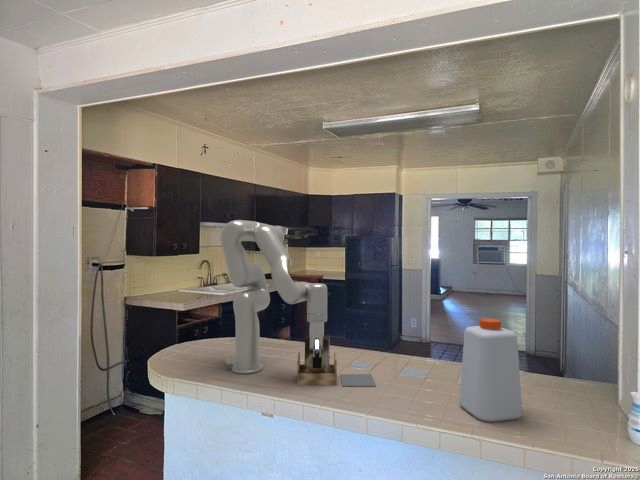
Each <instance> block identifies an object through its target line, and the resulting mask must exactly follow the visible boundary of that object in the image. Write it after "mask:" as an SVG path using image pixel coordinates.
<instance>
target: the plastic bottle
mask: <svg viewBox="0 0 640 480" xmlns="http://www.w3.org/2000/svg"><path fill="white" fill-rule="evenodd" d="M463 337H464V338H463V347H462V348H463V350H462V362H461V375H460V386H459V387H460V388H459V398H458V399H459V400H458V403H459V405H460V407H462V409H464V410H466V411H467V412H468V413H470V414H471V415H472V416H473V417H475V418H477V420H480V421H484V422H490V423H495V422H502V421H513V420H517V419H520V418H521V417H522V415H523V405H522V404H523V401H522V391H521V389H522V388H521V375H520V359H519V349H518V346H519V345H518V335H517V333H515V331H512V330H510V329H508V328H503V327H502V321H501V320H500V319H496V318H491V317H490V318H489V317H488V318H487V317H484V318H480V319H479V325H474V326H473V325H471V326H468V327H466V328H465V329H464V336H463Z"/></svg>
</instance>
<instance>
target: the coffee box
mask: <svg viewBox="0 0 640 480" xmlns="http://www.w3.org/2000/svg"><path fill="white" fill-rule="evenodd" d="M330 339H331V337H330V335H325V334H324V338H323V348H322V349H321V368H313V349H310V348H309V344H310V338H309V334H306V336H305V338H304V364H305V367H304V373H320V374H329V364H330V348H331V347H330V344H331V343H330V342H331V341H330ZM314 348H315V346H314ZM319 348H320V346H319Z"/></svg>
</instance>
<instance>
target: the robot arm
mask: <svg viewBox="0 0 640 480" xmlns="http://www.w3.org/2000/svg"><path fill="white" fill-rule="evenodd" d="M284 241H285V233H284V232H283V230H282V229H281V228H280V227H279V226H276V225H271V224H267V223H264V222H263V223H262V222H260V221H259V222H258V221H255V220H253V221H252V220H246V219H245V220H243V219H235V220H231V221H229V222H227V223H226V224H225V225H224V226H223V228H222V230H221V233H220V243H221V244H220V245H221V248H222V250H223V254H224V256H225V260H226V265H227V270H228V273H229V277H230V281H231V283H232V285H233V286H234V287H236V288H238V289H239V288H240V289H241V288H242V289H243V288H247V289H246V290H241V291H240V292H238V293H237V294H236V295H235V297H234V298H233V301H232V305H233V306H232V308H233V312H234V320H235V321H234V322H235V355H234V357H232V358H230V357H229V358H227V357H225V359H224V364H225V365H231V371H232V372H233V373H236V374H242V375H244V374H247V375H248V374H255V373H258V372H261V371H262V370H263V369H264V364H263V363H262V362H260V335H261V334H260V332H261V331H260V329H261V328H260V320H259V317H258V314H257V313H258V312H261V311H264V310H265V309H266V308H268V307H269V305H270V303H271V295H270V291H269V287H268V284H267V279H266V276H265V272H264V269H262V267H261V266H260V265H259V264H257V263H253V262H249V258H248V254H247V251H246V250H245V248H244V246H243V244H242V242H255V243H256V245H257V247H258V248H259V250H260V252H261V253H262V254H263V257H264V259H265V260H266V261H267V264H268V265H269V267H270V275H271V281H272V284H273V286H274V288H275V289H276V291H277V293H278V295H279V296H280V298H281V299H282V300H283V301H284V302H285V303H286V304H289V305H295V304H298V303H302V302H305V301H307V302H306V314H307V315H306V321H307V322H308V323H309V334H308V335H309V338H310V344H309V348H310V349H313V368H321V349H322V348H323V338H324V335H325V334H324V333H325V323H326V322H328V285H326V283H319V282H317V283H315V282H314V283H312V282H307V281H297V282H294V280H293V279H292V277H291V275H290V274H289V271H288V261H289V260H290V254H289V252H288V251H287V249H286V247H285V246H284V245H283V243H284ZM314 346H315V348H314ZM319 346H320V348H319Z"/></svg>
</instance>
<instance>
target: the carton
mask: <svg viewBox="0 0 640 480" xmlns="http://www.w3.org/2000/svg"><path fill="white" fill-rule="evenodd" d="M296 359H297V360H296V361H297V362H296V365H297V366H296V367H297V368H296V369H297V370H296V385H297V386H337V382H338V381H337V380H338V379H337V376H338V373H337V365H338V364H337V363H338V360H337V353H336V351H333V363H331V364H330V363H329V374H320V373H304V367H305V363H303V364H302V363H301V351H298V354H297V358H296Z"/></svg>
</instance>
